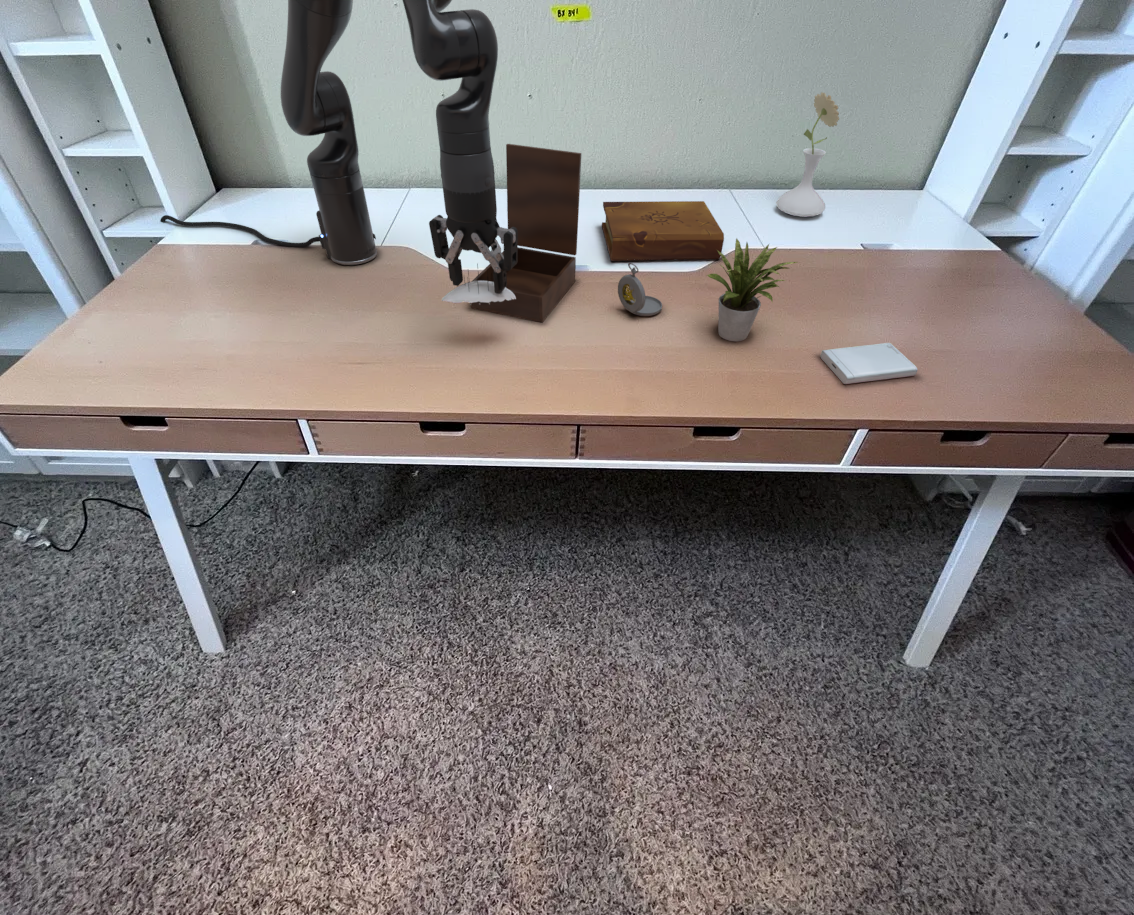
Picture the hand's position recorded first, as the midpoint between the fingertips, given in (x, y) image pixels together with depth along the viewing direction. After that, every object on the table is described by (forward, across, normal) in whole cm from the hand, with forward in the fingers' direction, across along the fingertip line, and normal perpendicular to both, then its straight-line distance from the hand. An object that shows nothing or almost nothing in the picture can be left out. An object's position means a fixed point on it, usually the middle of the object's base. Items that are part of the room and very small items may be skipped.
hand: (478, 287), depth 101 cm
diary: (+10, -18, -50) cm, 54 cm away
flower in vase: (+10, -45, -81) cm, 93 cm away
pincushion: (+3, 0, 0) cm, 3 cm away
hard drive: (+10, -62, -16) cm, 65 cm away
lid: (-4, 0, -27) cm, 27 cm away
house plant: (+10, -40, -17) cm, 45 cm away
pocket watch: (+10, -22, -20) cm, 31 cm away
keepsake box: (+10, 0, -18) cm, 21 cm away
